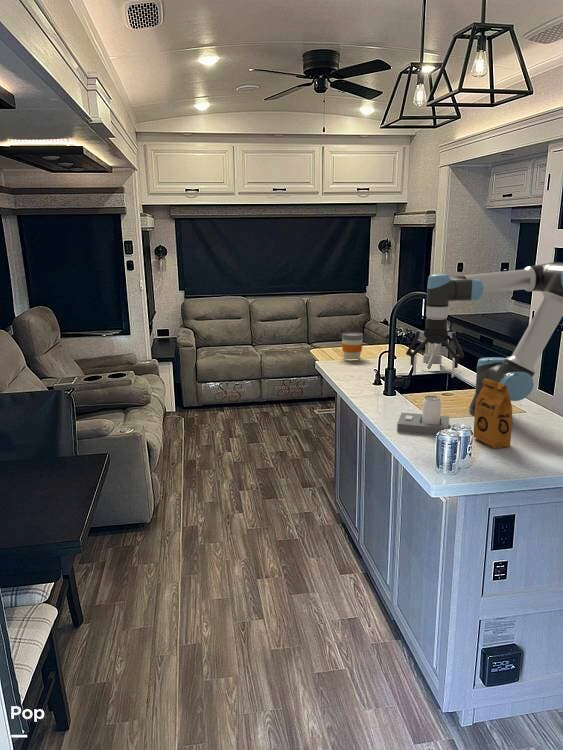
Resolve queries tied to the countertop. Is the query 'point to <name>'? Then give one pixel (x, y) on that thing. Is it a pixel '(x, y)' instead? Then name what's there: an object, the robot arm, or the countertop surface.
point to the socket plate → (420, 424)
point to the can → (431, 410)
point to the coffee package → (493, 415)
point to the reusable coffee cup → (352, 344)
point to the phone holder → (432, 357)
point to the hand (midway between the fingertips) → (433, 375)
